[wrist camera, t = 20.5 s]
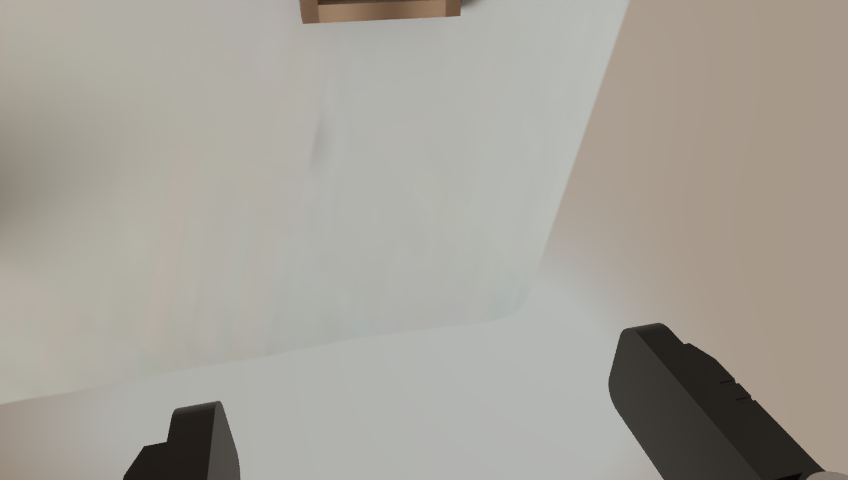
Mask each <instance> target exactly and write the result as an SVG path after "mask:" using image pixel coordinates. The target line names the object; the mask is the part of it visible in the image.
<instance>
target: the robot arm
mask: <svg viewBox="0 0 848 480" xmlns="http://www.w3.org/2000/svg"><path fill="white" fill-rule="evenodd" d="M609 392H610V396H611V399H612V402H613V404H614V406H615V408H616V410H617V411H618V413H619V414H620V416H621V417H622V419H623V420H624V422H625V423H626V425H627V426H628V428H629V429H630V430H631V432H632V433H633V435H634V436H635V438H636V439H637V441H638V442H639V444H640V445H641V447H642V448H643V450H644V451H645V453H646V454H647V455H648V457H649V458H650V460H651V461H652V463H653V464H654V466H655V467H656V469H657V470H658V472H659V473H660V475H661V476H662V478H663V479H664V480H848V476H847V475H845V474H841V473H837V472H826V471H825V470H824V469H822V468H821V467H820V466H819V465H818V464H817V463H816V462H815V461H814V460H813V459H812V458H811V457H810V456H809V455H808V454H807V453H806V452H805V451H804V450H803V449H802V448H801V447H800V446H799V445H798V444H797V443H796V442H795V441H794V439H793V438H792V437H791V436H789V434H788V433H787V432H786V431H785V430H784V429H783V428H782V427H781V426H780V425H779V424H778V423H777V422H776V421H775V420H774V419H773V418H772V417H771V416H770V415H769V414H768V413H767V412H766V411H765V410H764V409H763V408H762V407H761V406H760V405H759V404H758V402H757V401H756V400H754V401H753V400H752V399H751V395H750V394H749V393H748V392H747V391H746V390H745V389H744V388H743V387H742V386H741V385H740V384H739V383H738V384H736V383H735V379H734V378H733V377H732V376H731V375H730V374H729V373H728V372H727V371H726V370H725V369H724V367H723V366H722V365H721V364H719V362H718V361H717V360H716V359H714V358H713V357H711V356H710V355H708V354H706V353H705V352H703V351H701V350H700V349H698V348H697V347H695V346H693V345H692V344H690V343H688V344H683V343H682V342H681V341H680V340H679V339H678V338H677V337H676V336H675V334H674V333H673V332H672V331H671V330H670V329H669V328H668V327H667V326H665V325H664V324H661V323H655V324H649V325H644V326H638V327H632V328H627V329H624V330H623V331H622V333H621V335H620V338H619V342H618V346H617V349H616V353H615V357H614V361H613V365H612V369H611V372H610V376H609ZM123 480H240V468H239V460H238V455H237V451H236V448H235V444H234V441H233V438H232V434H231V431H230V428H229V425H228V421H227V418H226V415H225V412H224V409H223V405H222V403H221V402H220V401H216V402H211V403H205V404H199V405H194V406H188V407H182V408H177V409H175V410H174V412H173V415H172V418H171V423H170V428H169V433H168V438H167V442H164V443H159V444H154V445H149V446H144V447H143V449H142V450H141V452H140V453H139V455H138V456H137V458H136V459H135V460H134V462H133V464H132V465H131V466H130V468H129V469H128V471H127V472H126V474H125V475H124V478H123Z"/></svg>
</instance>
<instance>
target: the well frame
mask: <svg viewBox="0 0 848 480" xmlns="http://www.w3.org/2000/svg"><path fill="white" fill-rule="evenodd" d="M299 1H300V9H301V17H302V21H303V24H307V23H327V22H347V21H368V20H388V19H409V18H429V17H450V16H460V10H461V0H299Z"/></svg>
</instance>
